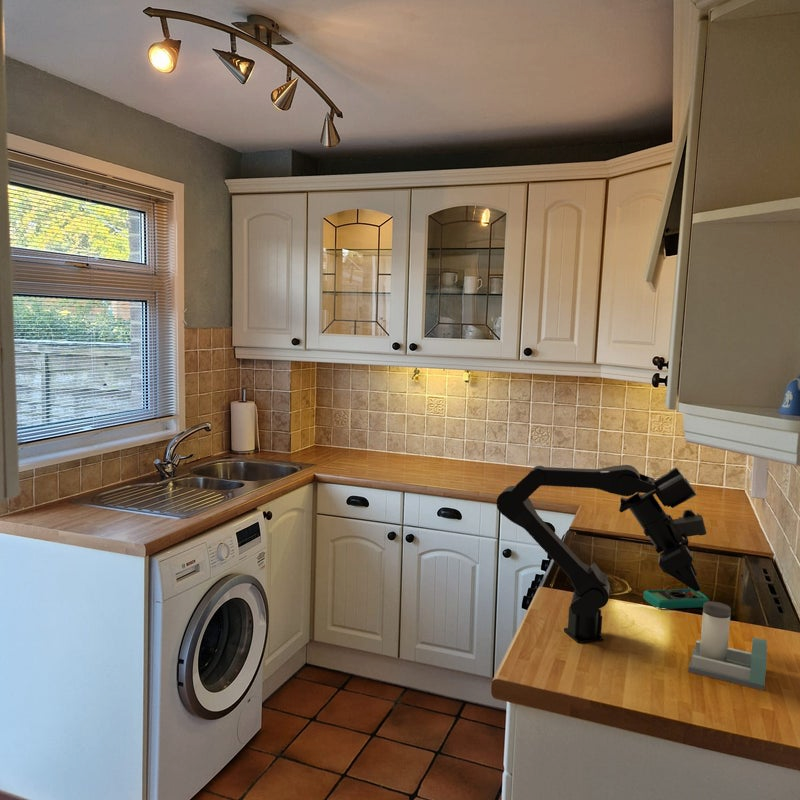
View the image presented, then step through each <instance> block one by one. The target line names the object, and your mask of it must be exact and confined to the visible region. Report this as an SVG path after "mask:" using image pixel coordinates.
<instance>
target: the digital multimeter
mask: <svg viewBox="0 0 800 800" xmlns="http://www.w3.org/2000/svg"><path fill="white" fill-rule="evenodd" d="M642 598H643V599H644V600H645V602H647V603H648V604H650V605H651V606H653V607H654V606H655V607H654V608H656V607H659V608H667V609H666V610H674V609H691V608H692V609H693V608H703V605H704V603H705V602H709V601H710V599H709V598H708V597H707V596H706V595H705V594H704V593H702V592H701V591H700V590H699V591H697V592H696V591H694V590H692V589H691V588H689V587H688V588H678V589H677V588H674V589H648V590H645V591H643V597H642Z"/></svg>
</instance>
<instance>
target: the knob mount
mask: <svg viewBox="0 0 800 800" xmlns="http://www.w3.org/2000/svg"><path fill="white" fill-rule="evenodd" d="M700 642H701V640H696V641H695V647H693V649H692V651H691V652H692V653H691V657H690V661H689V664H688V673H692V674H694V675H695V674H696V675H699V676H703V677H704V676H705V677H708V678H713V679H715V680H716V679H717V680H719V681H725V682H728V683H733V684H736V685H741V686H744V687H748V688H752V689H756V690H761V691H764V690H765V687H766V686H765V683H766V672H767V663H768V662H767V661H768V659H767V658H768V655H767V654H768V647H767V646H768V645H767V643H768V640H766V639H763V638H758V637H752V643H751V651H745V650H741V649H737V648H732V647H728V650H727V660H726V661H725V662H722V661H718V660H714V659H709V658H705V657H701V655H700Z"/></svg>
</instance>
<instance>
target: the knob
mask: <svg viewBox="0 0 800 800" xmlns="http://www.w3.org/2000/svg"><path fill="white" fill-rule="evenodd" d="M731 611H732V608H731V606H729V605H728V604H725V603H722V602H717V601H709V602H705V603H704V605H703V607H702V617H701V618H702V620H701V630H700V631H701V632H700V641H701V642H700V655H701V657H705V658H709V659H714V660H718V661H722V662H725V661H726V660H727V650H728V648H729V647H728V646H729V637H730V625H731V624H730V623H731Z"/></svg>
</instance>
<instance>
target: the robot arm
mask: <svg viewBox="0 0 800 800" xmlns="http://www.w3.org/2000/svg"><path fill="white" fill-rule="evenodd" d="M542 486H546V487H563V488H564V487H565V488H582V489H596V490H600V491H602V492H605V493H609V494H612V495H617V496H621V497H620V505H619V510H618V511H619V512H620V513H624V512H626V511H627V510H630V512H631V513H632V515H633V516H634V517H635V519H636V521H637V522H638V524H639V525H640V526H641V528H642V530H643V534H644V535H645V537H648V538H649V540H650V541H651V542H652V544H653V546H654V550H655V552H656V553H657V554H659V555H658V558H657V559H658V560H657V561H658V565H659V568H660V569H661V570H662V572H663V573H664V574H665V573H666V575H669V576H671V577H673V578H674V579H675V580H676V581H679V582H681V583H682V585H683V584H684V585H685V586H686V587H687V588H688V589H689V588H691V589H692V590H694V591H696V592H697V591H699V592H700V591H701V587H700V584H699V582H698V579H697V577H696V576H697V575H698V574H697V571H696V568H695V566H694V564H693V561H694V558H693V554H692V553H691V551H690V549H688V547H689V538H688V537H693V536H694V537H695V536H700V537H701V536H705V535H707V530H706V529H707V528H706V526H705V522H704V518H703V515H702V514H700V513H696V514H695V512H694V511H693V510H692V509H686V510H683V513H682V516H679V517H678V518H674V519H673V517H672V516H671V515H670V514H668V513H666V512H665V510H664V509H663V507H662V506H661V504H662V505H663V506H664V507H667V508H669V507H670V508H671V509H674V508H675V507H678V506H679V505H681V504H683V503H684V502H686V501H688V500H690V499H692V498H694V497H696V496H697V493H696V491H695V489H694V488H693V486H692V485H691V484H690V482H689V480H688V479H687V478H686V477H684V475H683V474H682V473H681V471H680V470H679V469H678V467H674V468H671V469H670V470H669V471H668V472H666V473H665V474H663V475H662V476H660V477H658V478H657V479H655V478H653V477H650V476H648V475H644V474H643V473H639V470H638V469H636V467H634V466H632V465H629V464H621V465H614V466H607V467H603V468H602V467H601V468H596V469H595V468H575V467H574V468H573V467H555V466H554V467H553V466H552V467H550V466H543V465H536V466H534V467H533V468H531V470H530V471H529V473H528V474H527V475H525V477H523V478H522V479H521V480H520V481H519V482H518V483H517V484H516V485H510V486H507V487H506V488H504V489H503V490H502V491H501V493H500V494H499V495H498V496H497V499H496V509H497V511H498V512H499V513H500V514H501V515H502V516H504V517H505V518H506V519H507V520H509V521H510V522H512V523H513V524H515V525H518V526H519V527H521V528H522V529H524V530H525V531H526V532H527V533H528V534H529V536H530V537H532V539H533V540H534V541H535V542H536V543H537V544H538V545H539V547H541V549H543V551H544V552H545V553H546V554H547V555H548V556H549V557H550V558H551V559H552V560H553V561H554V562H555V563H556V565H558V567H559V568H560V569H561V570H562V571H563V572H564V573H565V575H567V576H568V578H569V580H570V582H571V584H572V586H573V588H574V591H573V592H572V593H573V594H572V597H571V602H570V605H569V606H568V616H567V617H568V618H567V627H564V628H563V631H564V633H566V634H567V635H568V636H569V637H570V638H571V639H573V640H574V641H576V642H577V643H588V642H590V643H591V642H598V640H600V641H604V640H603V639H604V636H603V635H601V634H602V629H603V628H602V627H603V616H602V608H603V607H605V606H606V605H607V604H608V602H609V599H610V589H611V586H610V582H609V580H608V574H606V573H604V572H603V571H602V570H601V569H600V567H599V566H598V564H596V562H593V563H592V564H591V565H588V564H586V563H584V562H582V560H581V559H580V558H579V557H578V556H577V555H576V554H575V553H574V552H573V550H571V548H569V546H568V545H567V544H566V543H565V542H564V541H563V539H561V538H560V537H559V536H558V535H557V533H555V532H554V531H553V530H552V528H551V527H550V526H549V525H548V523H546V522H545V521H544V520H543V519H542V518H541V517H540V516H539V514H538V512H537V511H536V509H535V507H534V504H533V503H532V501H531V499H530V496H532V495H533V494H534V493H535V492H536V491H537V489H539V488H540V487H542ZM654 495H656V496H654ZM622 496H623V497H622ZM625 497H628V498H625ZM656 497H657V498H658V499H659V500H657V499H656ZM659 501H660V503H661V504H660V503H659Z"/></svg>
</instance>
